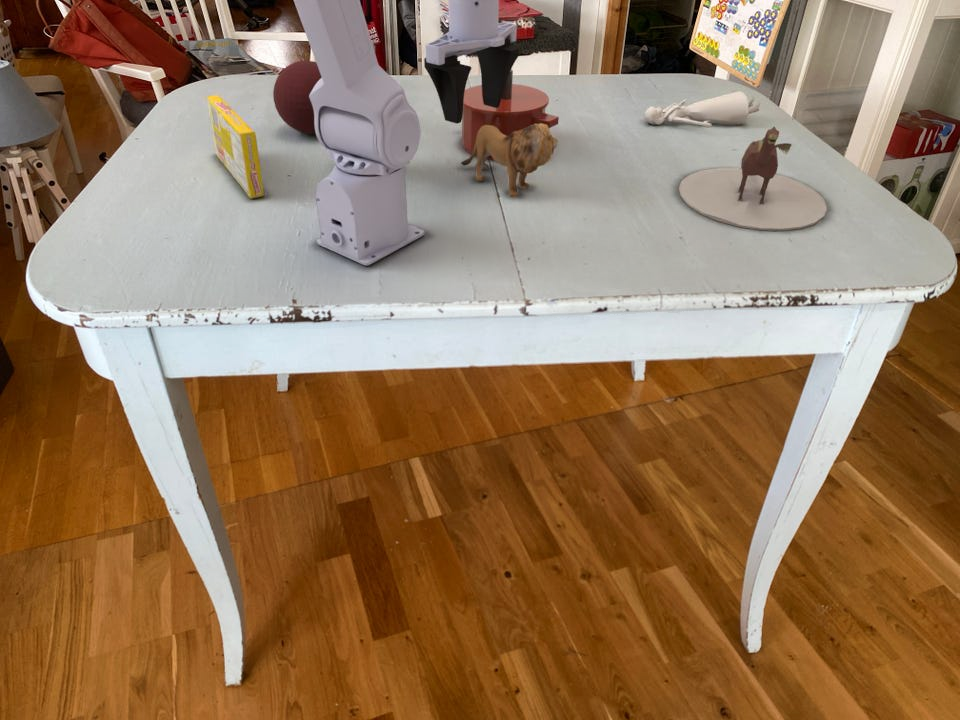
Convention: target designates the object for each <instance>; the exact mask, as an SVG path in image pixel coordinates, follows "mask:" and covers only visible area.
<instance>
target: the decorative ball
mask: <svg viewBox="0 0 960 720" xmlns="http://www.w3.org/2000/svg"><path fill="white" fill-rule="evenodd" d="M321 78H322V76H321V74H320V71H319V68H318V66H317V63H316V61H312V60H300V61H299V60H298V61H295V62H292V63H290V64H289V65H287V66H285V68H283V69H282V70H281V71H280V73H279V74H278V76H277V77H276V79H275V82H274V84H273V91H272V95H273V104H274V106H275V109H276V111H277V113H278V115H279V117H280V118H281V119H282V121H283V122H284V123H285V124H286V125H287V126H289V127H290V128H291V129H293V130H295V131H297V132H300V133H304V134H310V135H311V134H315V135H316V132H315V126H314V110H313V106H312V103H311V100H310V98H309V95H310V93H311V91H312V90H313V88H314V86H315V85H316V83H317V82H318V81H319V80H320V79H321Z"/></svg>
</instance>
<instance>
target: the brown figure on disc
mask: <svg viewBox="0 0 960 720" xmlns="http://www.w3.org/2000/svg"><path fill="white" fill-rule="evenodd" d="M779 135H780V131H779V130H778V129H777V128H776V126H773V127H772V128H770V129H767V131H766V133H765V135H764V137H763V138H762V139H759V140H756V141H754V140H753V141H752V142H750V143H749V145H748V146H747V148H746V150H745V152H744V153H743V155H742V158H741V163H740V167H715V168H709V169H701V170H699V171H695V172H694V173H691V174H688V175H687V176H686V177H684V178H683V179H682V180H681V182H680V184H679V186H678V194H679V197H680V199H681V200H682V201H683V202H684V204H686V205H687V206H688V207H689V208H690V209H692V210H694V211H695V212H697V213H699V214H700V215H702V216H704V217H706V218H709V219H712V220H715V221H717V222H719V223H723V224H727V225H730V226H735V227H739V228H743V229H751V230H756V231H757V230H758V231H777V232H778V231H779V232H783V231H792V230H802V229H804V228H807V227H810V226H813V225H816V224H818V223H819V222H820V221H821V220H822V219H824V217H825V215H826V212H827V209H828V206H827V204H826V202H825V199H824V198H823V197H822V195H820V194H819V193H818V192H817V191H816V190H814V189H813V188H811V187H809V186H808V185H806V184H805V183H802V182H800V181H798V180H795V179H792V178H791V177H788V176H784V175H780V174H777V171H778V167H779V159H778V151H777V149H778V150H779V151H781V152H782V153H783V155H787V154H788V153H789V152H790V149H791V147H792V143H788V142H782V143H777V144H776V142H777V140H778V138H779Z"/></svg>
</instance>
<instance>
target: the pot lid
mask: <svg viewBox="0 0 960 720" xmlns="http://www.w3.org/2000/svg"><path fill="white" fill-rule="evenodd" d="M513 78H514V70H513V69H512V68H511V71H510V73H509V75H508V78H507V81H506V84H505V88H504V91H503V95H502V99H501V102H500V105H499V107H498V108H494V107H491V106H487V105H484V103H483V98H482V84H478V85H473V86H470V87H468V88H465V92H464V102H463V106H464V107H465V108H467V109H469V110H472V111H475V112H479V113H484V114H490V115H502V116H512V115H524V114H530V113H534V112H537V111H540V110H542V109H544V108H545V109H546V108H547V107H548V105H549V104H550V96H549V95H548V94H547V93H546V92H545V91H543V90H541V89H538V88H535V87H532V86H528V85H523V84H516V83H513Z"/></svg>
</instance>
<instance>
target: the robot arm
mask: <svg viewBox="0 0 960 720" xmlns="http://www.w3.org/2000/svg"><path fill="white" fill-rule="evenodd" d="M293 2H294V5H295V8H296V11H297V13H298V16H299V19H300V22H301V24H302V27H303V30H304V33H305V35H306V39H307V41H308V44H309V46H310V50H311V51H312V52H311V53H312V54H313V57H314V61H315V62H316V63H317V66H318V68H319V71H320V74H321V76H322V78H321V79H320V80H319V81H318V82H317V83H316V85H315V86H314V88H313V90H312V91H311V93H310V95H309V98H310V100H311V103H312V106H313V110H314V126H315V132H316V133H315V135H316V138H317V140H318V142H319V143H320V145H321V146H322V147H323V148H325V149H326V150H328V154H329V161H331V162H334V163H335V164H334V166H333V169H332V170H331V172H330V173H329V174H328V175H327V176H326V177H324V178H322V179H321V180H320V181H319V182H318V183H317V185H316V188H315V202H316V203H315V205H316V210H317V217H318V226H319V232H320V237H319V238H317V239H316V243H317V245H319V246H321V247H323V248H325V249H328V250H330V251H332V252H334V253H336V254H339V255H340V256H343V257H346V258H347V259H349V260H351V261H354V262H356V263H358V264H360V265H363V266H366V267H367V266H370V265H372V264H374V263H376V262H377V261H379V260H381V259H383V258H385V257H387V256H388V255H391V254H392V253H394V252H396V251H398V250H400V249H401V248H403V247H405V246H407V245H408V244H410V243H412V242H414V241H416V240H418V239H420V238H422V237H424V236H425V233H426V232H425V230H424V229H422V228H419V227H417V226H414V225H413V224H409V223H408V221H409V220H408V203H407V202H408V201H407V184H406V166H407V165H409V164H410V163H411V160H412V159H413V158H414V157H415V155H416V153H417V150H418V148H419V145H420V141H421V123H420V120H419V116H418V114H417V112H416V110H415V109H414V108H413V107H412V106H411V105H410V103H409V102H408V99H407V96H406V92H405V88H403V87H402V85H401V84H399V83H398V82H397V81H396V80H395V79H394V78H393V77H392V76H391V75H390V74H389V73H387V71H386V70H384V68H382V67H381V66H380V65H379V62H378V59H377V55H376V50H375V51H374V48H373V44H374V43H373V42H372V38H371V35H370V31H369V28H368V24H367V21H366V17H365V13H364V9H363V7H362V4H361V0H293ZM362 9H363V10H362ZM499 14H500V0H448V31H447V32H446V33H445V34H443V35H441V36H440V37H438V38H437V39H435V40H433V41H431V42H428V43H426V44H425V57H424V59H423V64H424V65H423V66H424V69H425V71H426V72H427V73H428V75H429V77H430V79H431V81H432V83H433V85H434V87H435V90H436V93H437V96H438V99H439V102H440V106H441V110H442V114H443V117H444V121H445V122H450V123H453V124H456V125H458V124H460V123H462V115H463V102H464V92H465V90H466V87H467V83H468V79H469V77H470V76H469V75H470V73H471V70H472V66H471V65H467V64H464V63H463V64H462V63H461V60H459V57H462V56H465V55H468V54H472V53H475V52H476V55H477V60H478V63H479V64H478V65H479V69H480V70H479V71H480V77H481V85H482V98H483V103H484V105H487V106H491V107H494V108H498V107H499V105H500V102H501V99H502V95H503V91H504V88H505V84H506V81H507V78H508V75H509V73H510V71H511V69H512V68H513V67H514V65H515V62H516V61H517V60H518V58H519V56H520V48H521V47H520V46H518V45H515V44H512V43H515V42H517V31H518V29H517V28H518V24H517V23H510V22H506V21H503V22H499V18H500V17H499ZM372 43H373V44H372Z"/></svg>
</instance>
